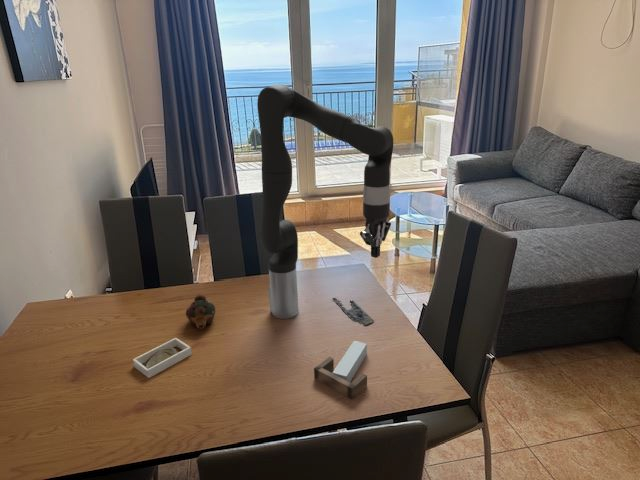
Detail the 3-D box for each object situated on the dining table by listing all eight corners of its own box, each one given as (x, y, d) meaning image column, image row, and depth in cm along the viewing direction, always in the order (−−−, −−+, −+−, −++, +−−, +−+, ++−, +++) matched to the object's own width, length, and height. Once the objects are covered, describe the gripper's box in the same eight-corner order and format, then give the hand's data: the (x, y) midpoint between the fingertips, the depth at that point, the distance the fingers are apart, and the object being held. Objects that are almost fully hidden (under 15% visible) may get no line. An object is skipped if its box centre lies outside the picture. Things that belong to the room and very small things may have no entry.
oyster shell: (157, 380, 130) (181, 352, 133) (155, 381, 126) (180, 352, 130) (141, 367, 130) (165, 340, 133) (139, 367, 126) (164, 339, 130)
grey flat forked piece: (376, 325, 147) (376, 319, 146) (357, 329, 145) (357, 324, 144) (349, 298, 165) (349, 293, 164) (332, 301, 163) (332, 296, 162)
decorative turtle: (213, 308, 159) (212, 289, 156) (218, 332, 146) (217, 312, 143) (185, 312, 156) (183, 292, 153) (188, 337, 143) (186, 316, 140)
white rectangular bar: (332, 384, 120) (332, 372, 118) (354, 351, 133) (354, 340, 132) (346, 388, 118) (346, 376, 117) (366, 355, 131) (366, 343, 130)
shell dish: (134, 366, 129) (132, 359, 128) (177, 344, 139) (175, 337, 138) (148, 378, 124) (147, 370, 123) (192, 354, 134) (190, 347, 133)
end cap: (314, 378, 122) (314, 368, 120) (329, 367, 126) (329, 356, 125) (352, 399, 114) (352, 388, 112) (367, 386, 118) (367, 375, 117)
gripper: (373, 208, 118) (373, 267, 124) (400, 196, 127) (398, 252, 133) (351, 203, 122) (351, 260, 129) (378, 192, 132) (377, 246, 138)
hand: (375, 256), depth 131 cm, fingers closed
